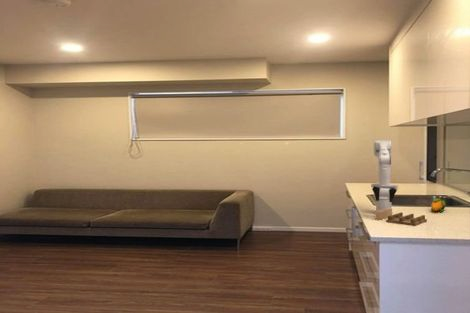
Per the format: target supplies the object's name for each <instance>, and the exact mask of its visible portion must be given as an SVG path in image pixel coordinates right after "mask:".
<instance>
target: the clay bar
mask: <svg viewBox="0 0 470 313" xmlns="http://www.w3.org/2000/svg"><path fill="white" fill-rule="evenodd" d="M392 212H393V208H385V209H381V210H378V211H376V210H375V215H374V216H375V221H380V220H381V221H384V220H387V219H388V216H391V215H393V213H392ZM386 218H387V219H386ZM383 219H384V220H383Z"/></svg>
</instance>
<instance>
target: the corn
mask: <svg viewBox="0 0 470 313" xmlns="http://www.w3.org/2000/svg"><path fill="white" fill-rule="evenodd" d="M430 206H431V208H430V209H431V211H432V212H438V211H439V213H441V212H442V211H444V210H445V209H446V208H445V207H446V201H445V200H443V199H441V198H434V199H433V202H432V203H431V204H430Z"/></svg>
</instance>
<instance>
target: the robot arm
mask: <svg viewBox="0 0 470 313" xmlns="http://www.w3.org/2000/svg"><path fill="white" fill-rule="evenodd" d="M391 152H392V141H391V140H375V139H374V141H373V154H374V156H375V157H377V161H378V162H377V163H378V181H377V182H376V183H370V186H371V190H372V192H373V197H374V198H375V211H378V210H381V209H385V208H392V207H393V206H392V203H393V201H394V197H395V194H396V192H397V191H398V189H399V185H398V184H397V185H396V184H391V165H392V155H391ZM392 209H393V208H392ZM372 213H373V214H375V212H372ZM392 214H394V212H393V211H392Z"/></svg>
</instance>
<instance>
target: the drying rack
mask: <svg viewBox="0 0 470 313" xmlns="http://www.w3.org/2000/svg"><path fill="white" fill-rule="evenodd" d="M403 214H404V213H403V212H398V213H397V212H396V213H395V214H394V213H393V214H392V215H391V216H388V218H387V219H385V222H386V223H389V222H390V223H391V224H396V225H397V224H398V225H404V226H405V225H406V226H410V227H412V226H413V227H416V226H419V225H421V224H424V223H427V222H428V219H427V218H426V215H425V214H422V215H419V216H417V217H415V216H414V213H410V214H409V213H408V214H407V215H403ZM390 223H389V224H390Z"/></svg>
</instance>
